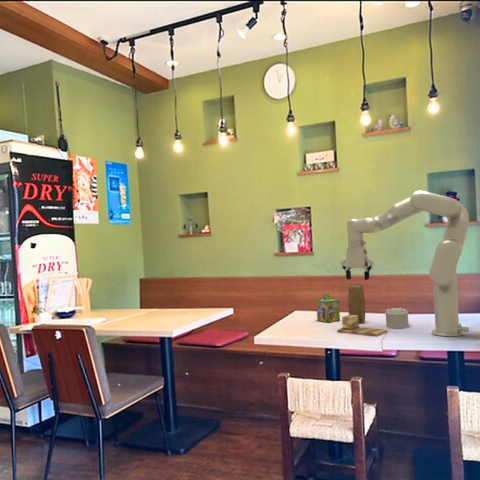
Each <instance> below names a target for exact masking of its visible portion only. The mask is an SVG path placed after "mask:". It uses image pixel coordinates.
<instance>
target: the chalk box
mask: <svg viewBox="0 0 480 480" xmlns="http://www.w3.org/2000/svg"><path fill="white" fill-rule="evenodd" d="M326 296H327V297H326ZM322 297H323V298H322V299H316V300H315V302H316V318H317V319H316V321H317V322H322V323H337V322H341V318H340V316H341V315H340V313H341V312H340V300H339V299H335V298H334V299H332V298H331V296H330V293H324V294H322Z"/></svg>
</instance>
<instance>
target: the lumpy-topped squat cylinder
mask: <svg viewBox="0 0 480 480" xmlns="http://www.w3.org/2000/svg"><path fill="white" fill-rule="evenodd" d="M385 326H386V327H387V328H388V329H394V330H401V329H408V328H409V312H408V310H407V309H406V308H401V307H397V308H396V307H392V308H386V310H385Z"/></svg>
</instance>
